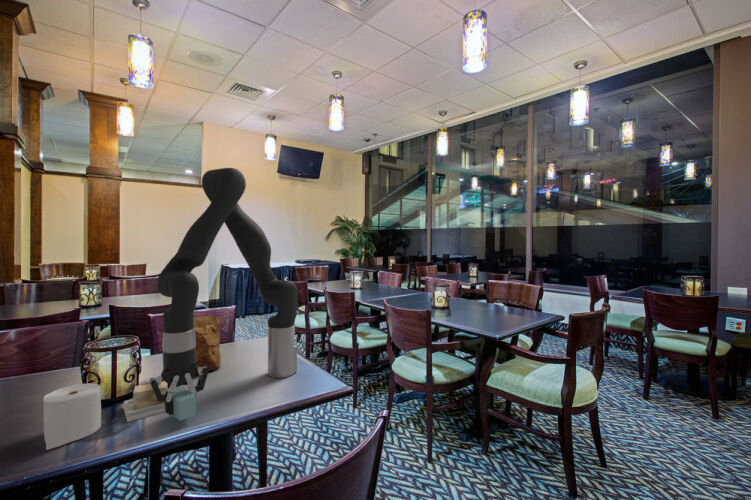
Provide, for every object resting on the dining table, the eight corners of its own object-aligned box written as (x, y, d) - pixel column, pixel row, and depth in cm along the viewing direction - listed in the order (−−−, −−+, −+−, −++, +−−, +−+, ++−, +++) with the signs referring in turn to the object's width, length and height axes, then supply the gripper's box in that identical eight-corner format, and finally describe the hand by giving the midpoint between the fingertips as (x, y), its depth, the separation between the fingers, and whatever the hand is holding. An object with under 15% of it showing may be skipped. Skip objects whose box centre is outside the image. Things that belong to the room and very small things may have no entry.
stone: (219, 364, 133) (218, 312, 132) (223, 373, 124) (223, 317, 123) (162, 373, 123) (161, 317, 122) (162, 384, 114) (161, 323, 113)
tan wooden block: (172, 396, 103) (171, 380, 103) (171, 403, 99) (171, 386, 98) (135, 403, 98) (134, 386, 98) (133, 411, 94) (133, 393, 94)
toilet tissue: (100, 416, 93) (99, 379, 93) (103, 435, 84) (102, 395, 84) (45, 430, 86) (44, 391, 86) (42, 453, 77) (41, 408, 77)
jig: (175, 394, 107) (175, 388, 106) (183, 406, 99) (183, 399, 99) (123, 407, 98) (123, 400, 98) (127, 421, 90) (127, 414, 90)
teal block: (182, 404, 96) (181, 386, 96) (196, 414, 90) (195, 395, 90) (166, 409, 93) (165, 391, 93) (179, 421, 87) (179, 401, 87)
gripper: (149, 357, 83) (151, 426, 84) (212, 344, 93) (214, 407, 93) (144, 349, 89) (146, 414, 90) (204, 338, 98) (206, 397, 99)
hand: (181, 410), depth 92 cm, fingers closed on teal block, 4 cm apart
